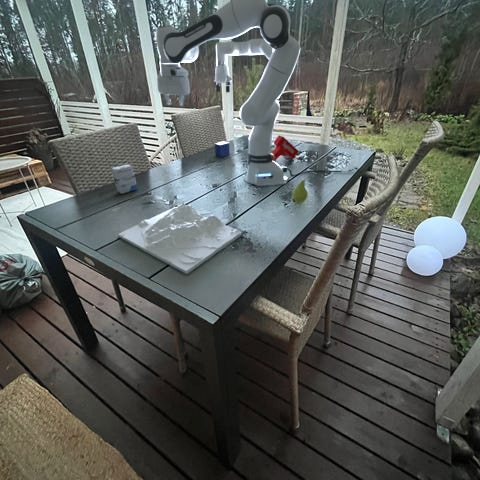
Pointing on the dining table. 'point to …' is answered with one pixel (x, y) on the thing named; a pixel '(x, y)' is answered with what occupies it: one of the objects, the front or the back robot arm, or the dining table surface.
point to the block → (222, 149)
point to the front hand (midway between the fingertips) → (174, 104)
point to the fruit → (300, 192)
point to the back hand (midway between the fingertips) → (223, 92)
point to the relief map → (181, 237)
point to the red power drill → (284, 148)
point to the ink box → (124, 178)
